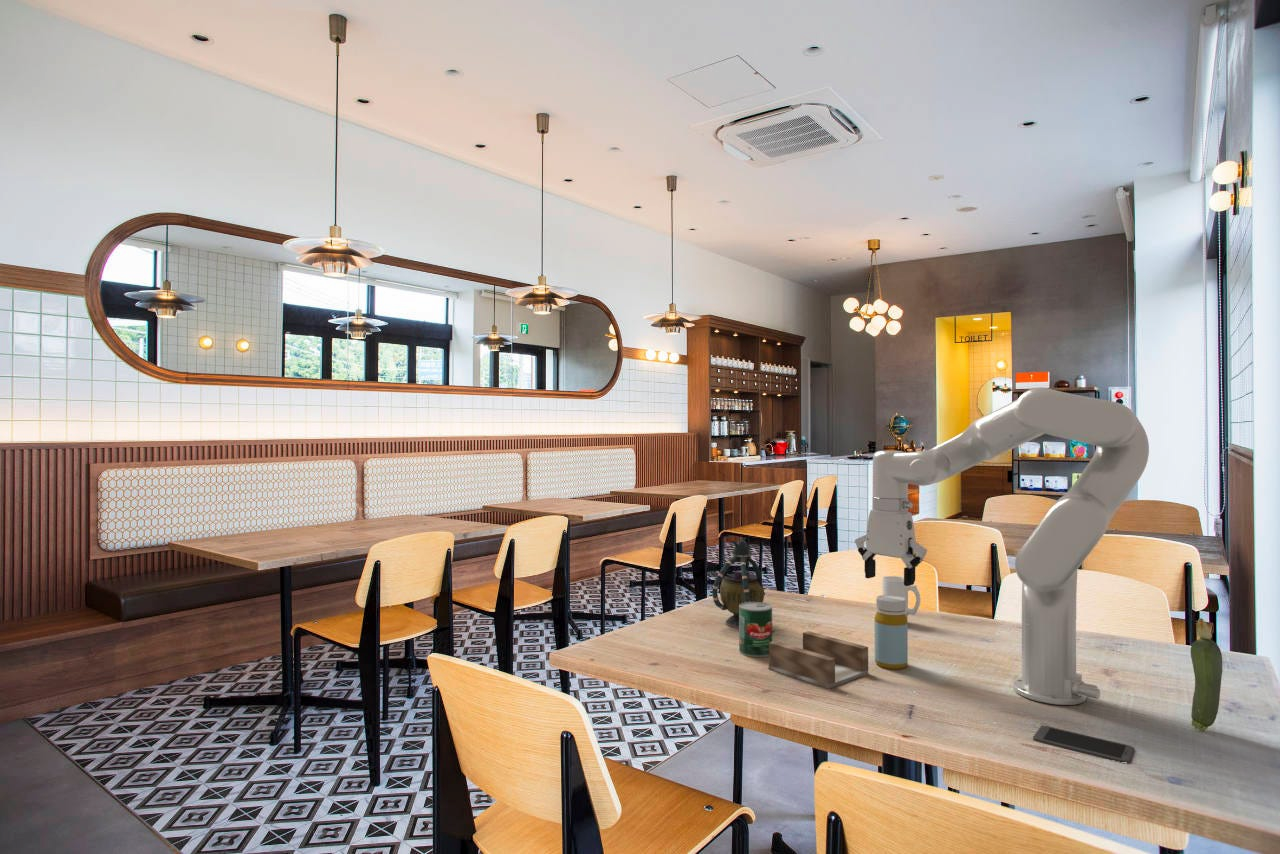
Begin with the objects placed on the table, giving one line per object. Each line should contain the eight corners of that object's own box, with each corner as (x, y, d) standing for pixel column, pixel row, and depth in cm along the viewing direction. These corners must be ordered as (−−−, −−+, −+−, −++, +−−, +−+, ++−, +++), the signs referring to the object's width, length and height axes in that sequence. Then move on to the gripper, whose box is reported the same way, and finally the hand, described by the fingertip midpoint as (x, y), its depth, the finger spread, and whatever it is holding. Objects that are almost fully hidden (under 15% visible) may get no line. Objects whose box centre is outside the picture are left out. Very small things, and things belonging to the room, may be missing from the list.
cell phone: (1041, 728, 129) (1041, 724, 129) (1135, 751, 120) (1135, 746, 120) (1031, 742, 123) (1031, 737, 123) (1129, 766, 114) (1129, 762, 114)
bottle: (903, 660, 165) (902, 594, 165) (911, 670, 158) (911, 602, 158) (871, 659, 166) (871, 594, 166) (878, 669, 159) (878, 601, 159)
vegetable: (1208, 726, 128) (1208, 614, 128) (1229, 736, 124) (1229, 620, 124) (1184, 726, 128) (1184, 614, 128) (1204, 737, 124) (1204, 621, 124)
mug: (878, 623, 197) (878, 579, 197) (887, 617, 202) (886, 575, 202) (916, 629, 191) (916, 583, 191) (924, 623, 196) (923, 579, 196)
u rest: (868, 673, 157) (868, 646, 157) (829, 688, 148) (829, 660, 148) (808, 655, 169) (808, 631, 169) (768, 668, 160) (768, 642, 160)
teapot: (708, 629, 192) (708, 541, 192) (742, 608, 214) (742, 529, 214) (751, 635, 186) (751, 545, 186) (782, 613, 208) (781, 532, 208)
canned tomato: (757, 659, 167) (756, 611, 167) (732, 651, 173) (731, 605, 173) (779, 652, 172) (779, 606, 172) (754, 644, 178) (754, 600, 178)
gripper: (935, 507, 158) (934, 585, 158) (865, 500, 171) (865, 572, 172) (916, 510, 153) (916, 590, 153) (847, 503, 167) (846, 576, 167)
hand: (889, 581), depth 163 cm, fingers open, 9 cm apart
